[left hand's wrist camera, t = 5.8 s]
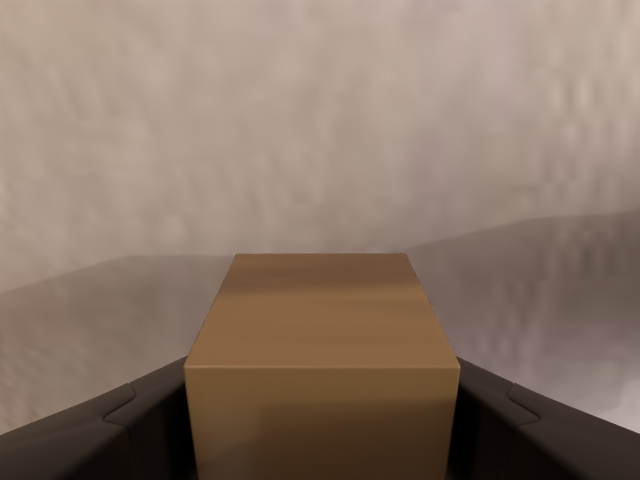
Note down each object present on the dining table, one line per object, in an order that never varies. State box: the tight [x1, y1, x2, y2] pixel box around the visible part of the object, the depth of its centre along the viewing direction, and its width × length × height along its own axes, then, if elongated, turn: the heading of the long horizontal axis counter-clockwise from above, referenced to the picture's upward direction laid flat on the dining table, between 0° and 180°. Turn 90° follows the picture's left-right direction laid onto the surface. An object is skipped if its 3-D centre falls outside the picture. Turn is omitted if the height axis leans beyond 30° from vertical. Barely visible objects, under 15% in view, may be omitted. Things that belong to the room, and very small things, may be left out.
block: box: [183, 254, 461, 480], centre depth 10 cm, size 5×5×5 cm
